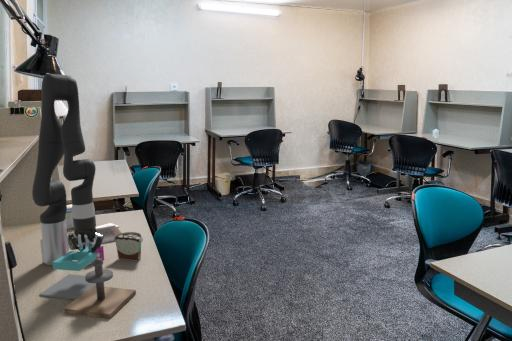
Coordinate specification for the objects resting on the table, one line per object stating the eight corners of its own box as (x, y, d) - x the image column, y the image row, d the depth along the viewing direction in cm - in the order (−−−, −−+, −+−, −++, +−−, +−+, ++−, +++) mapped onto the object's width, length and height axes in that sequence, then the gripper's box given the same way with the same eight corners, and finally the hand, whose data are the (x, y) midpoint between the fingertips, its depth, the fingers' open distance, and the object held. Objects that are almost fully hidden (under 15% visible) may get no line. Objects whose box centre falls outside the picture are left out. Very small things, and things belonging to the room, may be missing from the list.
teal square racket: (53, 269, 146) (52, 262, 145) (79, 252, 160) (79, 246, 159) (79, 271, 143) (78, 264, 143) (104, 254, 158) (103, 247, 157)
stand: (64, 312, 134) (59, 266, 131) (93, 289, 149) (90, 247, 146) (110, 318, 131) (106, 271, 128) (135, 293, 146) (133, 251, 143)
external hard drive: (87, 231, 211) (110, 225, 220) (96, 235, 206) (119, 228, 215) (87, 228, 211) (110, 222, 220) (96, 232, 205) (119, 225, 215)
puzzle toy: (95, 256, 178) (94, 243, 177) (104, 259, 176) (103, 246, 175) (83, 261, 174) (82, 248, 173) (92, 264, 171) (91, 250, 170)
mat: (39, 295, 145) (39, 294, 145) (69, 275, 160) (69, 274, 160) (78, 300, 142) (78, 298, 142) (105, 279, 157) (105, 277, 157)
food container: (149, 255, 179) (148, 233, 177) (142, 261, 173) (140, 238, 171) (123, 253, 182) (122, 230, 180) (115, 258, 176) (113, 235, 174)
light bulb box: (84, 221, 224) (82, 201, 222) (88, 224, 219) (87, 204, 217) (63, 225, 218) (61, 205, 216) (67, 229, 213) (65, 208, 211)
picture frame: (74, 249, 187) (124, 239, 198) (73, 243, 187) (123, 234, 198) (68, 237, 201) (115, 229, 212) (67, 232, 201) (114, 224, 212)
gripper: (60, 217, 151) (65, 263, 155) (95, 218, 148) (99, 265, 152) (73, 211, 159) (77, 255, 162) (107, 212, 156) (111, 257, 159)
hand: (88, 260), depth 157 cm, fingers closed on teal square racket, 2 cm apart
